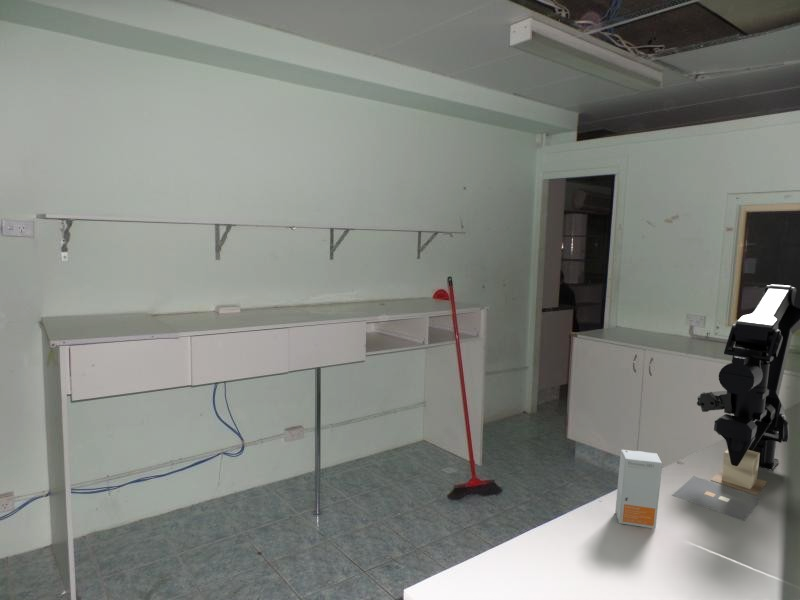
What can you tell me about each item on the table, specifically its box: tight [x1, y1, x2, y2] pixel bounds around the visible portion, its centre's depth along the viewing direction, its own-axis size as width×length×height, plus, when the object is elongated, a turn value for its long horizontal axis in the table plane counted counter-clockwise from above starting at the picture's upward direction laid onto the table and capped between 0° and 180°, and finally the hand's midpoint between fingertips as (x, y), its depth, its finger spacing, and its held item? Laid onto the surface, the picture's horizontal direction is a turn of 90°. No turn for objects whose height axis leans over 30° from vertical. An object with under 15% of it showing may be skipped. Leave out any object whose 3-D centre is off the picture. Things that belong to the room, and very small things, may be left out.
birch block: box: [722, 448, 760, 489], centre depth 107 cm, size 5×5×6 cm
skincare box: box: [615, 449, 663, 530], centre depth 91 cm, size 6×4×12 cm
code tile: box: [671, 475, 763, 522], centre depth 101 cm, size 12×12×1 cm
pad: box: [710, 468, 768, 496], centre depth 107 cm, size 8×8×1 cm
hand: (741, 458), depth 107 cm, fingers open, 9 cm apart
